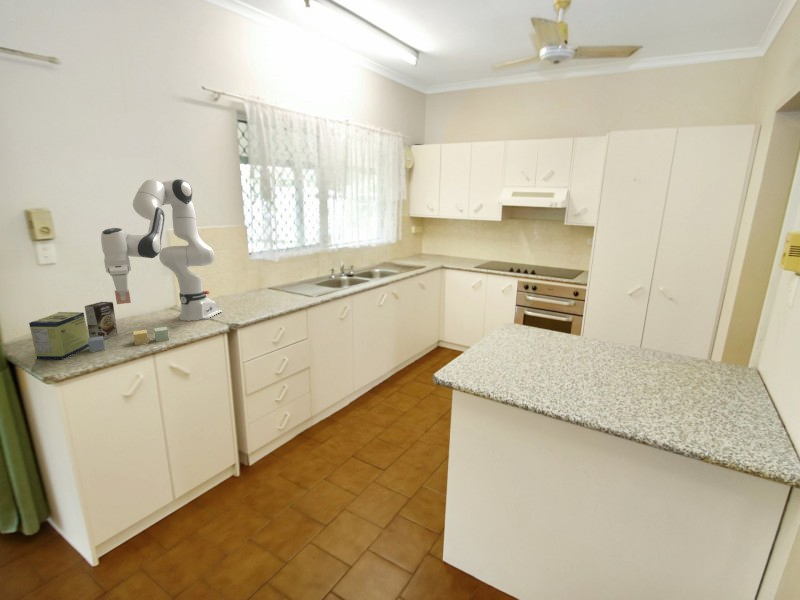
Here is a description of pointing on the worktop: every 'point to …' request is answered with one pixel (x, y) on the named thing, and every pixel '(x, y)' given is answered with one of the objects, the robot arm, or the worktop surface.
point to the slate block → (96, 343)
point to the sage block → (161, 334)
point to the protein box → (59, 335)
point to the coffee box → (101, 320)
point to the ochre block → (140, 337)
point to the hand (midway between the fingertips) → (123, 298)
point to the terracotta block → (123, 300)
